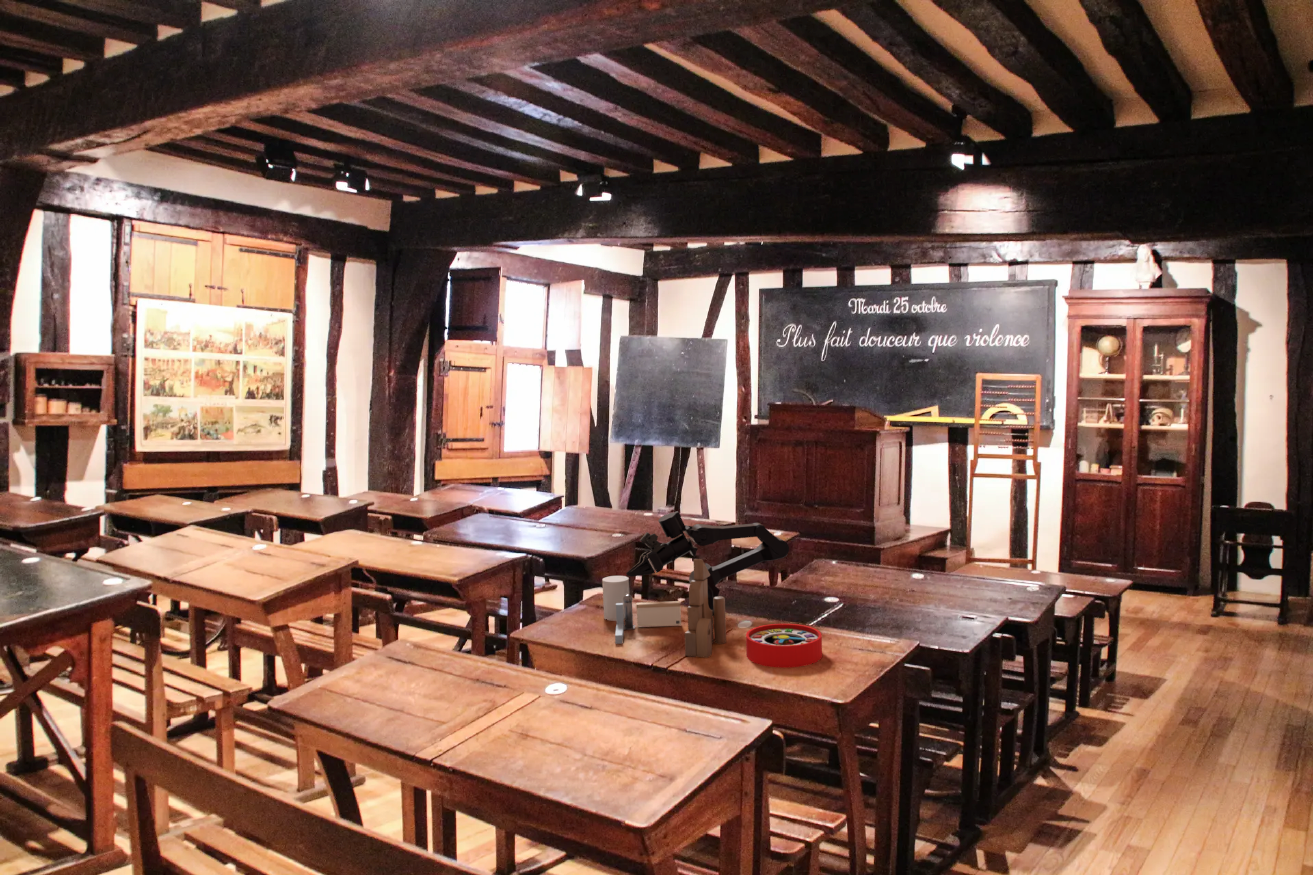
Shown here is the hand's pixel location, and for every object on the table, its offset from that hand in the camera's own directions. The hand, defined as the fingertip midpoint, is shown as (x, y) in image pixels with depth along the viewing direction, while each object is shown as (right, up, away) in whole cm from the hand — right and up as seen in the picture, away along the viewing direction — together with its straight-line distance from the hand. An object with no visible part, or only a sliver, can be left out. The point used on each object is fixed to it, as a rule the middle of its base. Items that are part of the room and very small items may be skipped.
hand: (627, 574), depth 295 cm
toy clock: (+43, -17, -35) cm, 58 cm away
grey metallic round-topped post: (0, -15, -5) cm, 16 cm away
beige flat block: (+9, -14, -5) cm, 18 cm away
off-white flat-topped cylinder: (-4, -14, +7) cm, 16 cm away
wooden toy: (+22, -16, -27) cm, 39 cm away
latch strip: (-2, -16, -14) cm, 21 cm away
